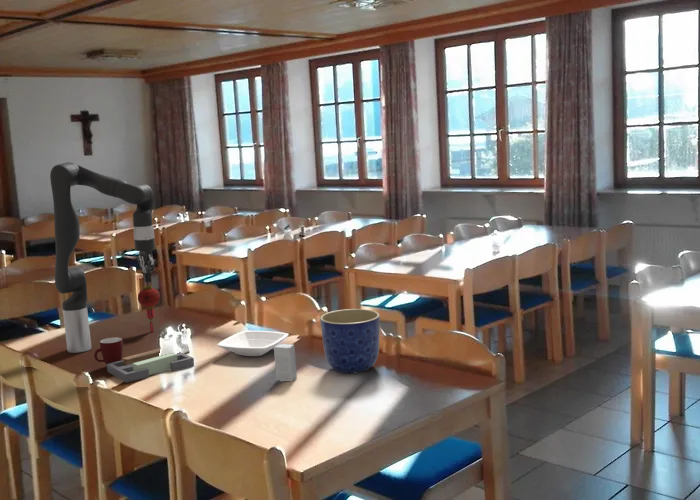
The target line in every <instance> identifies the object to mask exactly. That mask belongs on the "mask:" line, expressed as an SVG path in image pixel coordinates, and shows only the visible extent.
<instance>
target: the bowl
mask: <svg viewBox="0 0 700 500" xmlns="http://www.w3.org/2000/svg"><path fill="white" fill-rule="evenodd" d="M287 337H289V333H287V332H282V331H270V330H269V331H268V330H242V331H239V332H237V333H235V334H232V335H231V336H228V337H226V338H225V339H223V340H221V341H219V342H218V343H217V345H216V346H218V347H219V348H220V349H221V348H222V349H223V350H226V351H228V352H233V353H235V354H237V355H240V356H244V357H245V356H246V357H261V356H263V355H265V354H267V353H268V352H270V350H272V349H274V347H275V346H277V345H278V344H281V343H282V342H283V341H284V340H285V339H287Z"/></svg>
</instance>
